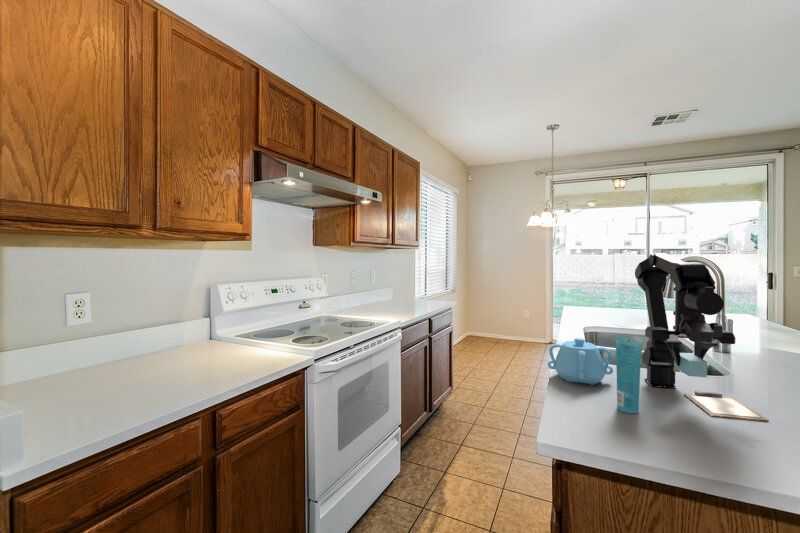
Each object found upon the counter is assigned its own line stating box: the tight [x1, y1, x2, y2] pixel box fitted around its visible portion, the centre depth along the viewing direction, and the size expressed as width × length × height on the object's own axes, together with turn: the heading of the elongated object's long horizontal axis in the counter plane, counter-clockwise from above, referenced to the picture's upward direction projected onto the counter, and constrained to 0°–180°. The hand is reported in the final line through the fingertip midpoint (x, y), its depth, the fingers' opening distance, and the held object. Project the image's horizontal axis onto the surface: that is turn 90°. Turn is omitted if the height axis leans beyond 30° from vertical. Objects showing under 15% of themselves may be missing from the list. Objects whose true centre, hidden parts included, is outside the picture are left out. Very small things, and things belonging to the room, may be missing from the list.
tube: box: [614, 335, 644, 414], centre depth 97 cm, size 7×5×19 cm, turn 29°
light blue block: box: [674, 352, 708, 378], centre depth 98 cm, size 10×4×4 cm, turn 164°
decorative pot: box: [547, 337, 614, 386], centre depth 121 cm, size 16×16×14 cm
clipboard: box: [682, 390, 770, 422], centre depth 98 cm, size 12×15×1 cm
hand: (687, 366), depth 99 cm, fingers closed on light blue block, 4 cm apart
